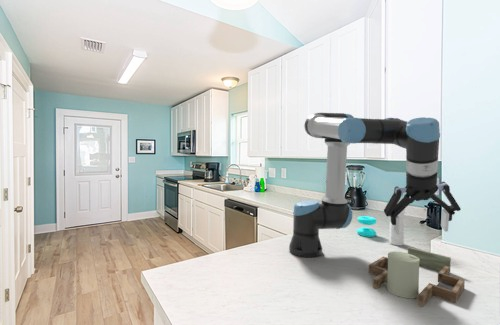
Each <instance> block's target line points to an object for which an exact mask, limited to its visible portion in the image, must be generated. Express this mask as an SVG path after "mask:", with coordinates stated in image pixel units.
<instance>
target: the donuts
mask: <svg viewBox="0 0 500 325" xmlns="http://www.w3.org/2000/svg"><path fill="white" fill-rule="evenodd" d="M357 221H358V223H359V224H362V225H365V226H366V227H359V228H357V230H356V232H357V234H358V235H360V236H361V237H365V238H373V237H375V236H376V235H377V232H376V231H375V229H374V228H370V227H367V226H372V225H373V226H374V225H375V224H376V223H377V219H376V218H375V217H372V216H366V215H365V216H364V215H363V216H358V217H357Z"/></svg>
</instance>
